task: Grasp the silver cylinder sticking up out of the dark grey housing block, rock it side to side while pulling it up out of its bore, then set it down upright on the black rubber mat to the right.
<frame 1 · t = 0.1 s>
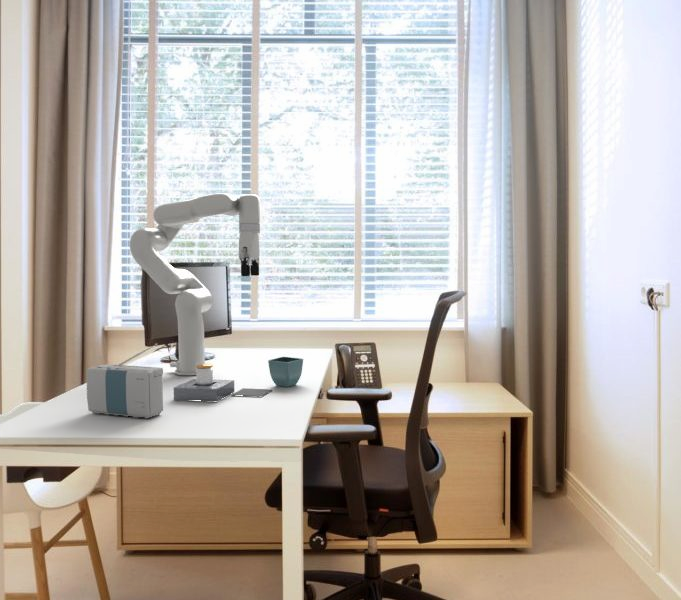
hand: (250, 275, 229), 37 cm above the table, tool pointing down, fingers open, 9 cm apart
flower pot: (286, 386, 212), on the table
mat: (252, 393, 199), on the table
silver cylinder: (204, 380, 195), in the housing
housing: (205, 396, 195), on the table
grey teal equipment box: (126, 415, 174), on the table
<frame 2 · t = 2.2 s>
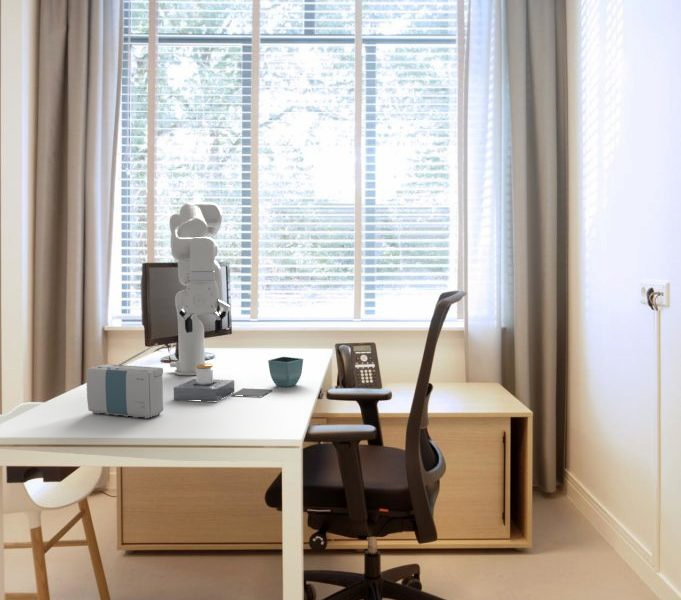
hand: (203, 332, 194), 20 cm above the table, tool pointing down, fingers open, 9 cm apart
nothing on the table moved.
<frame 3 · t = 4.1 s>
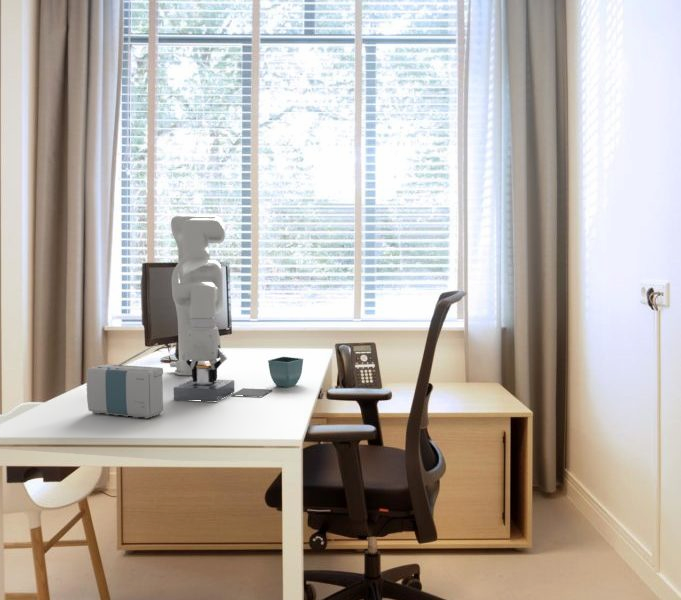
hand: (204, 380, 195), 5 cm above the table, tool pointing down, fingers closed on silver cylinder, 5 cm apart
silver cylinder: (204, 380, 195), in the housing, touching gripper
everything else where it was.
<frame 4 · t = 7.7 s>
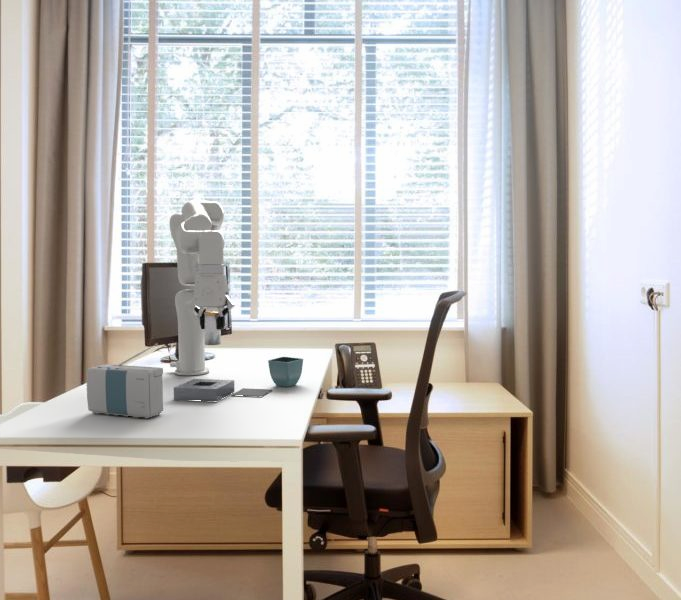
hand: (212, 328, 195), 21 cm above the table, tool pointing down, fingers closed on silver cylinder, 5 cm apart
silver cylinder: (212, 328, 195), point 21 cm above the table, touching gripper
everything else where it was.
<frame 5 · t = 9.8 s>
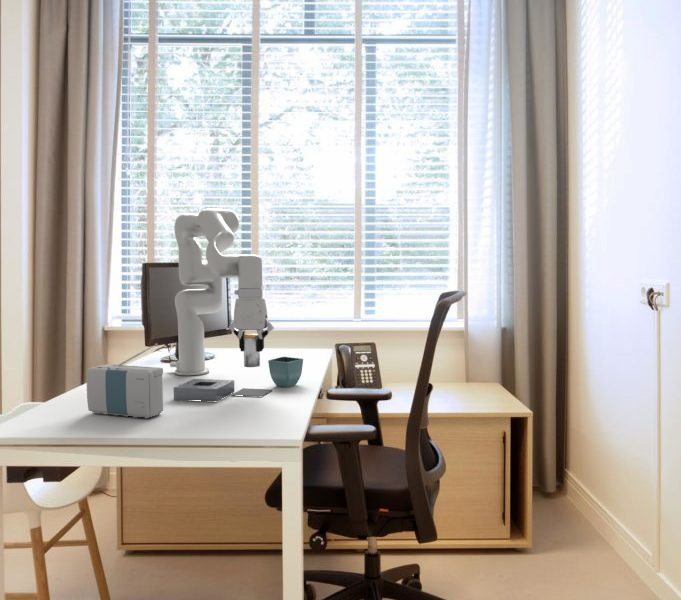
hand: (251, 350, 198), 14 cm above the table, tool pointing down, fingers closed on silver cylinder, 5 cm apart
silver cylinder: (251, 350, 198), point 14 cm above the table, touching gripper
everything else where it was.
when the fingers open (7 cm above the table, at t = 11.5 s): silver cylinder drops 1 cm, resting on mat.
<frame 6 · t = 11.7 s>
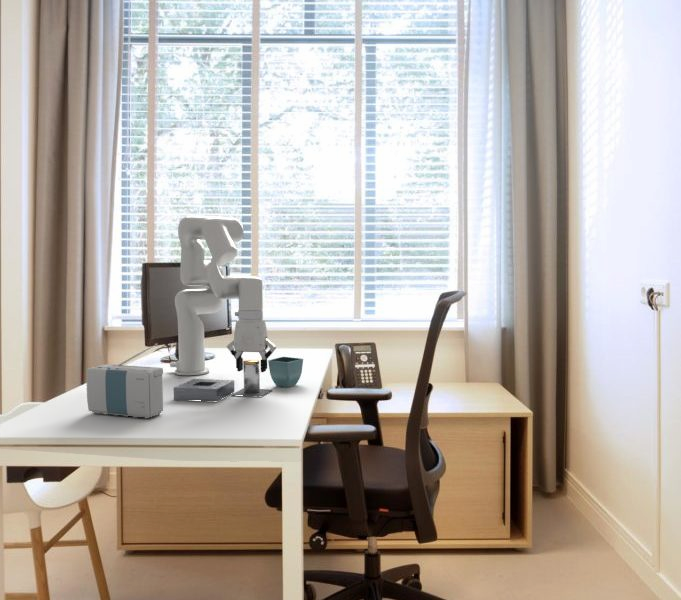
hand: (251, 370, 199), 7 cm above the table, tool pointing down, fingers open, 7 cm apart
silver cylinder: (251, 376, 199), on the mat
everything else where it was.
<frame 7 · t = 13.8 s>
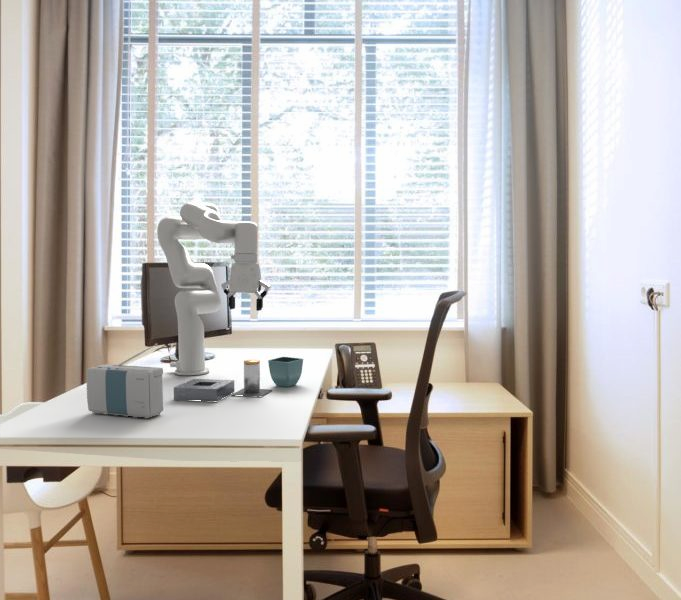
hand: (245, 309, 211), 26 cm above the table, tool pointing down, fingers open, 9 cm apart
nothing on the table moved.
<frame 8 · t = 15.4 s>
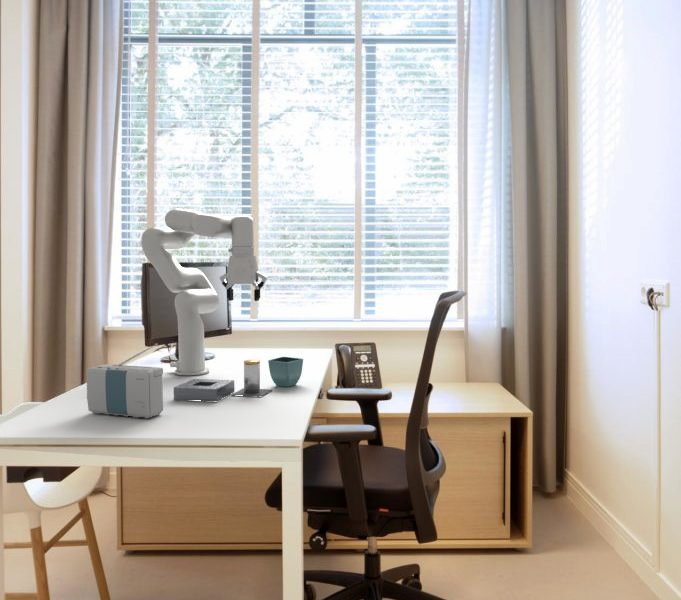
hand: (243, 300, 219), 28 cm above the table, tool pointing down, fingers open, 9 cm apart
nothing on the table moved.
at the end: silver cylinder inside the target area on the mat (0.1 cm from its centre), point 5.4 cm above the mat's base; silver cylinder tilted 1°; the gripper is holding nothing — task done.
